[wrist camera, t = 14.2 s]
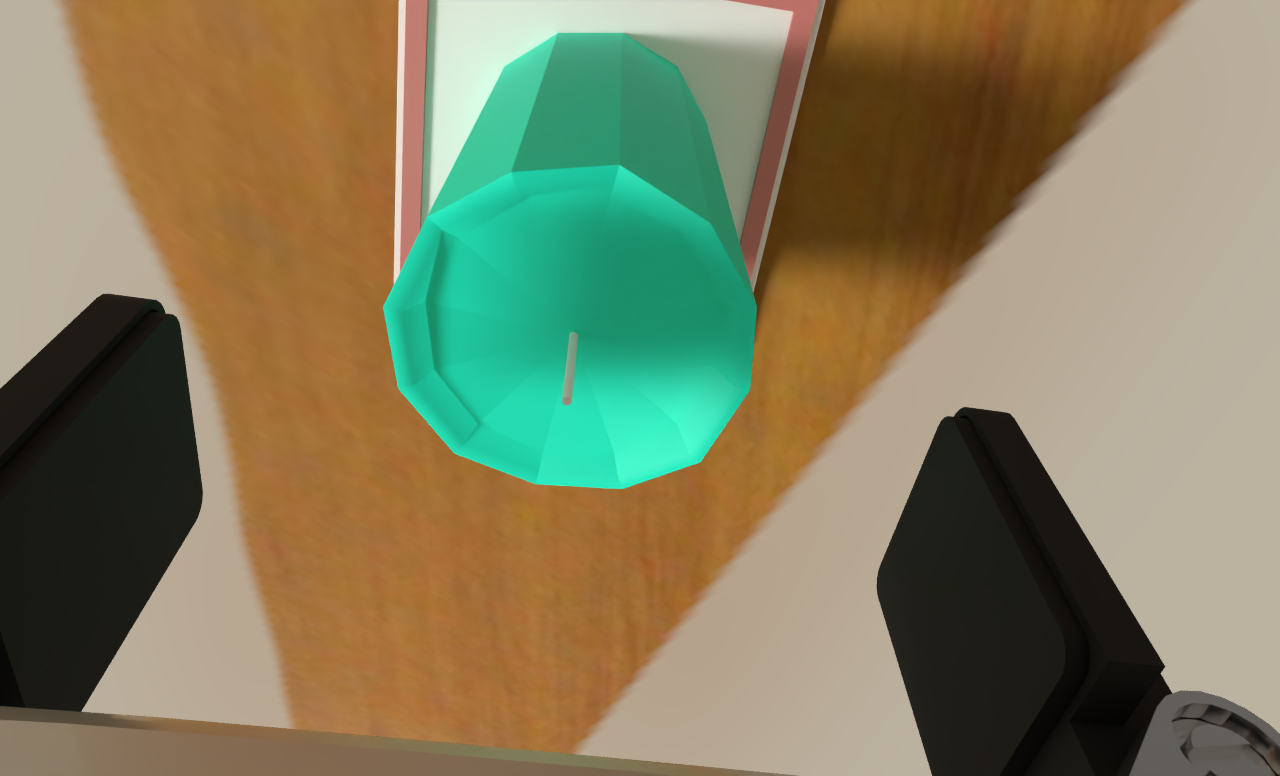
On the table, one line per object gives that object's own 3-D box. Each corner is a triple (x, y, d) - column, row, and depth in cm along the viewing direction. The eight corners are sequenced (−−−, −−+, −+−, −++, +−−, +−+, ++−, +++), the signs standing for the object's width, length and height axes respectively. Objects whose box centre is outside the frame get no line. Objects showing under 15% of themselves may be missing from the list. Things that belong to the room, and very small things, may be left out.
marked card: (404, -92, 21) (398, -90, 20) (826, -19, 22) (831, -16, 21) (396, 297, 26) (391, 307, 25) (737, 343, 27) (739, 353, 26)
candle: (757, 151, 23) (857, 400, 13) (596, 299, 26) (576, 611, 15) (588, -28, 21) (553, 104, 11) (428, 151, 23) (273, 402, 13)
